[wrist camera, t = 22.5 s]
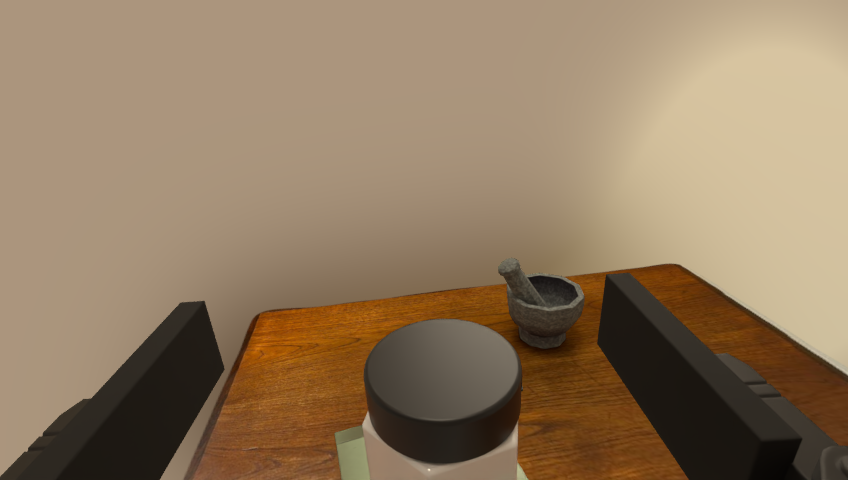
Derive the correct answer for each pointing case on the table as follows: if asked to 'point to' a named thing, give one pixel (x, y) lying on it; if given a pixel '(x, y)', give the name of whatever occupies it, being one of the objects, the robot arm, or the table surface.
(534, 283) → the mortar and pestle
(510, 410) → the jar
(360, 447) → the olive green cubby
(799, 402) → the table surface
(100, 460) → the robot arm
